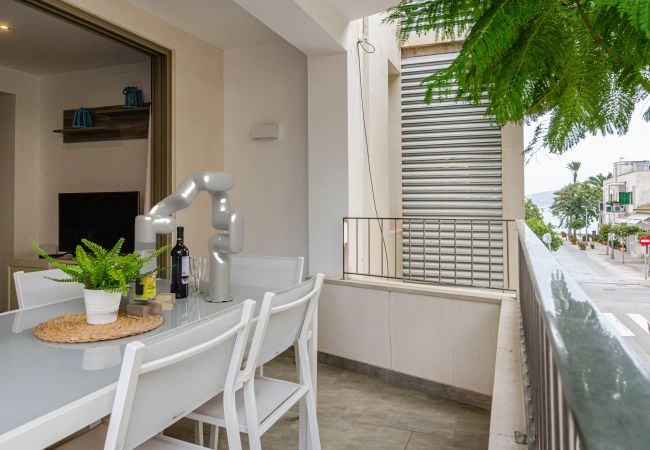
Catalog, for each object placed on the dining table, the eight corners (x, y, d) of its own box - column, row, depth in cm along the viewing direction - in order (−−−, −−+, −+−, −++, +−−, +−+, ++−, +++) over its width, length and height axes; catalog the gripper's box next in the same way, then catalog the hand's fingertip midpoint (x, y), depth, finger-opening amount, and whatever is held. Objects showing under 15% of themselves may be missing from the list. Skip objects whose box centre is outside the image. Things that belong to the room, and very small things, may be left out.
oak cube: (160, 307, 190) (161, 293, 190) (174, 307, 190) (175, 293, 190) (156, 309, 184) (156, 295, 184) (170, 310, 184) (170, 295, 184)
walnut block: (145, 313, 177) (145, 301, 177) (161, 316, 173) (161, 303, 173) (126, 318, 169) (126, 305, 169) (143, 320, 165) (143, 307, 165)
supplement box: (147, 302, 168) (147, 273, 168) (133, 301, 169) (133, 273, 169) (156, 299, 174) (156, 272, 173) (142, 298, 175) (142, 271, 175)
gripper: (150, 245, 180) (149, 289, 180) (122, 248, 163) (121, 296, 164) (166, 246, 179) (166, 290, 179) (139, 248, 162) (139, 297, 162)
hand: (144, 292), depth 171 cm, fingers closed on supplement box, 6 cm apart
